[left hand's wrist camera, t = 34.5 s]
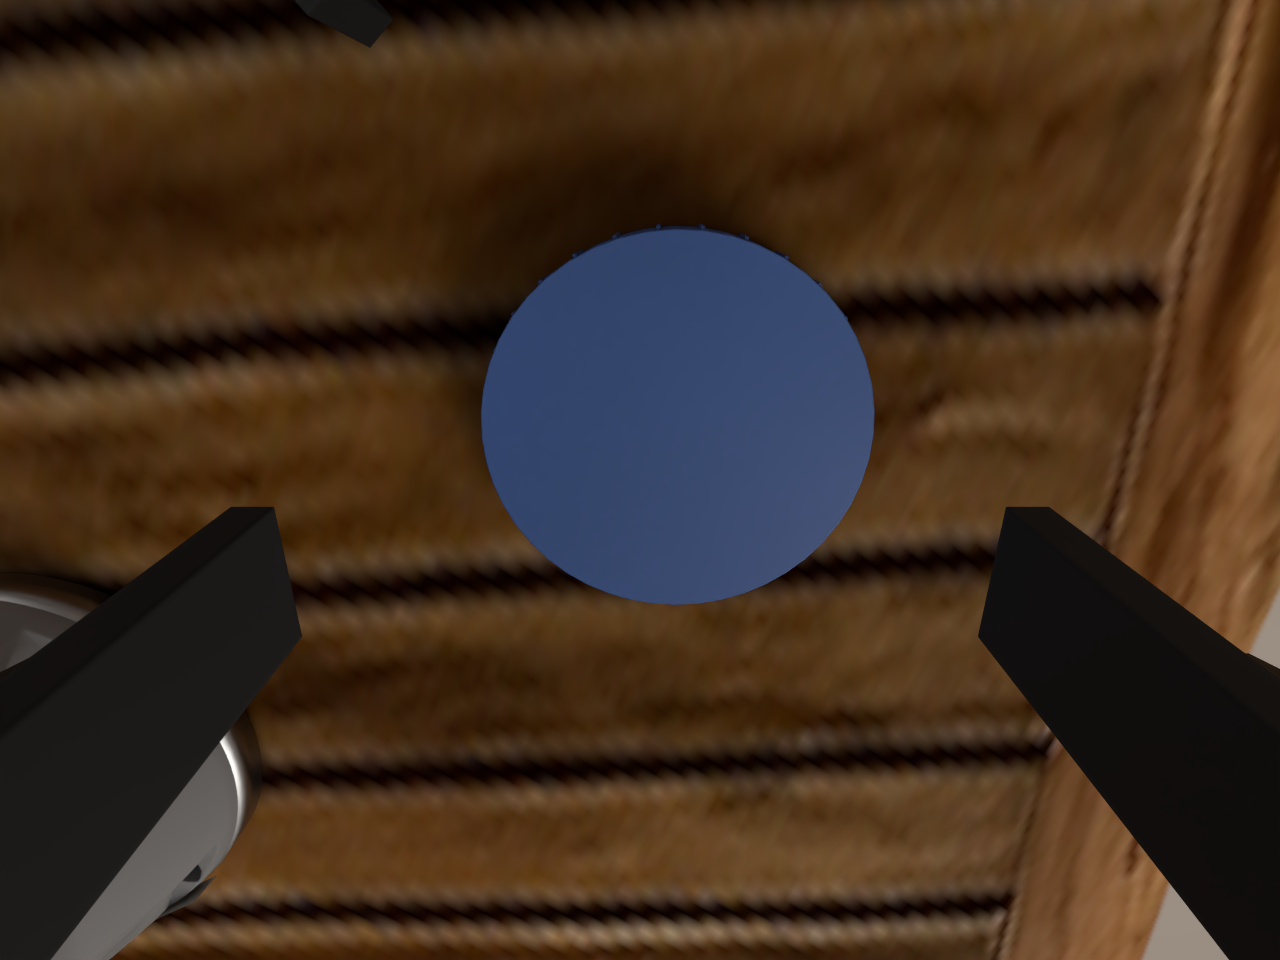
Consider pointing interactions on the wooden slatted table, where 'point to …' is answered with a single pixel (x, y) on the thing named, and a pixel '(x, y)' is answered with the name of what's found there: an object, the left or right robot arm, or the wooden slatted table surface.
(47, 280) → the wooden slatted table surface
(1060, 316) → the wooden slatted table surface
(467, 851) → the wooden slatted table surface
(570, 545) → the lid
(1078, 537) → the left robot arm
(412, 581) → the wooden slatted table surface
